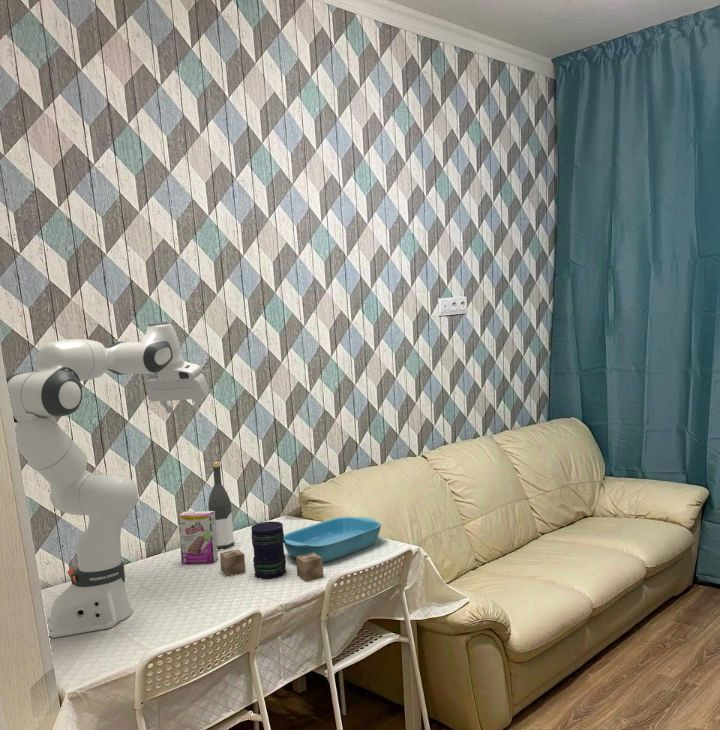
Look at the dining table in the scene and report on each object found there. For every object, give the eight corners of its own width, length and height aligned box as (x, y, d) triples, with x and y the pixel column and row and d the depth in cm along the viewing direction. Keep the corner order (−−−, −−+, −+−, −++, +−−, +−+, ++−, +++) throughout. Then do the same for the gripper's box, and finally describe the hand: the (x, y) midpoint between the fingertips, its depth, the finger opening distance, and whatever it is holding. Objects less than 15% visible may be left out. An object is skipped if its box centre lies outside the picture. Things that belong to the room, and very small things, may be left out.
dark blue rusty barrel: (251, 580, 211) (247, 531, 211) (257, 569, 221) (253, 522, 220) (284, 578, 211) (280, 529, 210) (288, 567, 221) (285, 520, 220)
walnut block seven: (227, 577, 216) (225, 557, 215) (221, 571, 221) (219, 552, 221) (245, 572, 219) (244, 553, 218) (239, 567, 224) (238, 548, 224)
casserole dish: (348, 530, 257) (347, 511, 257) (394, 540, 242) (393, 520, 241) (270, 559, 230) (268, 538, 230) (316, 572, 215) (314, 549, 215)
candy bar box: (181, 564, 230) (177, 515, 229) (186, 559, 235) (182, 511, 234) (214, 563, 229) (210, 514, 228) (218, 558, 234) (215, 510, 233)
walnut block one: (305, 581, 207) (303, 561, 207) (297, 576, 213) (295, 556, 212) (323, 577, 210) (322, 557, 210) (315, 571, 215) (313, 551, 215)
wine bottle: (214, 543, 251) (207, 460, 250) (236, 542, 251) (230, 459, 249) (208, 550, 243) (201, 465, 241) (231, 549, 243) (225, 464, 241)
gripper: (137, 377, 218) (149, 417, 223) (195, 373, 212) (206, 414, 217) (148, 369, 224) (159, 408, 229) (205, 365, 218) (215, 405, 223)
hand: (183, 411), depth 223 cm, fingers open, 8 cm apart
